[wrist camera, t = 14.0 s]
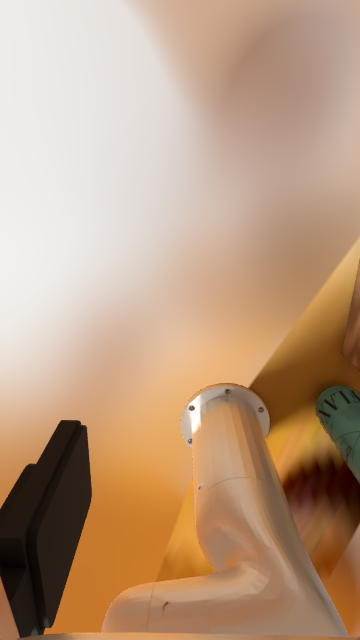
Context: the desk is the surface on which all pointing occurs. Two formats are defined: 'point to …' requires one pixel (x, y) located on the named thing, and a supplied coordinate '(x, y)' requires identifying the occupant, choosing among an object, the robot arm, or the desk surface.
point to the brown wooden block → (353, 327)
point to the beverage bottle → (342, 422)
